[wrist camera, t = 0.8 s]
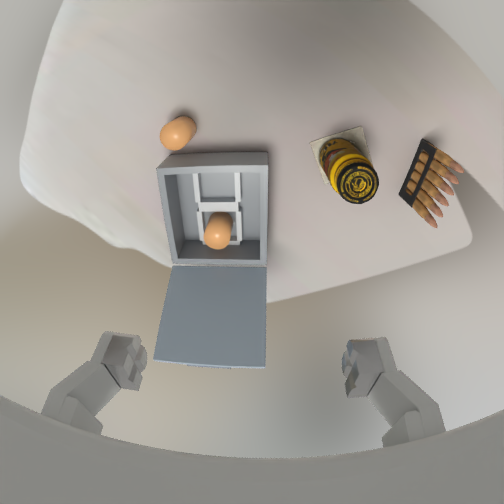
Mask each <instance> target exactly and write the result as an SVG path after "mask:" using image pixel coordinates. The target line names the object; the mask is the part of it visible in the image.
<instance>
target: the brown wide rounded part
mask: <svg viewBox="0 0 504 504" xmlns="http://www.w3.org/2000/svg"><path fill="white" fill-rule="evenodd" d="M195 133H196V125H195V123H194V121H193V120H192V119H191V118H189V117H185V116H181V117H178V118H176V119H174V120H173V121H171V122H169V123H168V124H166V125H165V126H164V127H163V128H162V130H161V132H160V140H161V143H162V144H163V146H164V147H166V148H167V149H169V150H179V149H181V148H183V147H184V146H185V145H186V144H187V143H188V142H189V141H190V140H191V139H192V138H193V137H194V135H195Z"/></svg>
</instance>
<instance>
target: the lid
mask: <svg viewBox="0 0 504 504" xmlns="http://www.w3.org/2000/svg"><path fill="white" fill-rule="evenodd" d="M265 358H266V267H209V266H173V267H172V271H171V276H170V280H169V284H168V289H167V293H166V298H165V302H164V308H163V312H162V316H161V321H160V326H159V332H158V336H157V342H156V347H155V352H154V358H153V359H154V361H159V362H168V363H178V364H187V365H188V366H198V367H212V368H231V367H236V368H265Z"/></svg>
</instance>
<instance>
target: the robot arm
mask: <svg viewBox="0 0 504 504" xmlns="http://www.w3.org/2000/svg"><path fill="white" fill-rule="evenodd" d="M146 364H147V352H146V350H145V347H143V346H142V345H141V339H140V337H139V336H138V335H131V334H123V333H117V332H109V331H105V332H104V333H103V334H102V336H101V338H100V340H99V343H98V345H97V347H96V349H95V352H94V354H93V356H92V358H91V361H87V362H86V363H84V364H83V365H82V366H80V367H79V368H78V369H76V370H75V371H74V372H73V373H71V374H70V375H69V376H68V377H66V378H65V379H64V380H62V381H61V382H60V383H58V384H57V385H56V386H55V387H53V388H52V389H51V390H50V392H49V395H48V397H47V400H46V402H45V405H44V407H43V409H42V412H41V414H40V413H37V412H35V411H33V410H30V409H28V408H26V407H24V406H22V405H19V404H17V403H15V402H13V401H11V400H9V399H7V398H5V397H3V396H1V395H0V504H504V410H502V411H499V412H497V413H495V414H492V415H490V416H488V417H485V418H483V419H480V420H478V421H475V422H472V423H470V424H467V425H464V426H461V427H459V428H456V429H453V430H450V431H446V430H445V427H444V423H443V419H442V416H441V413H440V409H439V406H438V404H437V403H436V402H435V401H434V400H433V399H432V398H431V397H430V396H428V395H427V394H426V393H425V392H424V391H423V390H422V389H421V388H420V387H418V386H417V385H416V384H415V383H414V382H413V381H412V380H411V379H410V378H408V377H407V376H406V375H405V374H404V373H403V372H402V371H401V370H400V371H397V368H396V364H395V361H394V358H393V355H392V352H391V349H390V346H389V343H388V340H387V338H386V337H381V338H366V339H355V340H349V341H348V343H347V351H345V352H344V354H343V358H342V371H343V375H344V376H345V377H346V378H347V380H346V382H345V388H346V394H347V398H353V397H365V396H367V398H368V399H369V401H370V402H371V403H372V404H373V405H374V407H375V408H376V409H377V410H378V411H379V413H380V414H381V415H382V416H383V417H384V418H385V420H386V421H387V422H388V423H389V425H390V426H391V427H392V428H391V429H390V430H389V431H388V432H387V433H386V434H385V435H384V436H383V437H382V442H383V448H378V449H373V450H367V451H361V452H354V453H346V454H339V455H328V456H317V457H302V458H236V457H221V456H209V455H199V454H191V453H184V452H176V451H170V450H164V449H158V448H153V447H148V446H143V445H139V444H134V443H130V442H126V441H121V440H118V439H114V438H110V437H106V436H103V435H101V431H102V428H103V426H102V424H101V422H100V421H99V420H97V419H96V418H95V417H94V416H95V415H96V414H97V413H98V412H99V411H100V410H101V409H102V408H103V407H104V406H105V405H106V404H107V403H108V402H109V401H110V400H111V399H112V398H113V397H114V396H115V395H116V394H117V393H118V392H119V390H120V389H121V388H123V389H130V390H137V391H139V388H140V384H141V381H142V375H141V372H142V371H143V370H144V369H145V367H146Z"/></svg>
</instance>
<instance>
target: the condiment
mask: <svg viewBox="0 0 504 504" xmlns="http://www.w3.org/2000/svg"><path fill="white" fill-rule="evenodd" d="M350 141H352V142H355V143H352V142H350ZM310 145H311V147H312V150H313V153H314V156H315V158H316V161H317V164H318V167H319V170H320V172H321V175H322V178H323V181H324V184H328V183H330V184H331V186H332V187H333V189H334V190H335V191H336V192H337V193H339V194H340V195H341V197H342V198H343V199H345V200H346V201H348V202H350V203H353V204H362V203H365V202H367V201H369V200H370V199H372V198H373V197H374V195H375V193H376V191H377V189H378V186H379V179H378V176H377V173H376V171H375V170H374V168H373V164H372V161H371V157H370V154H369V150H368V146H367V143H366V139H365V136H364V132H363V129H362V126H360V127H357V128H353V129H350V130H347V131H344V132H340V133H337V134H334V135H331V136H328V137H324V138H321V139H319V140H315V141H313V142H310Z"/></svg>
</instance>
